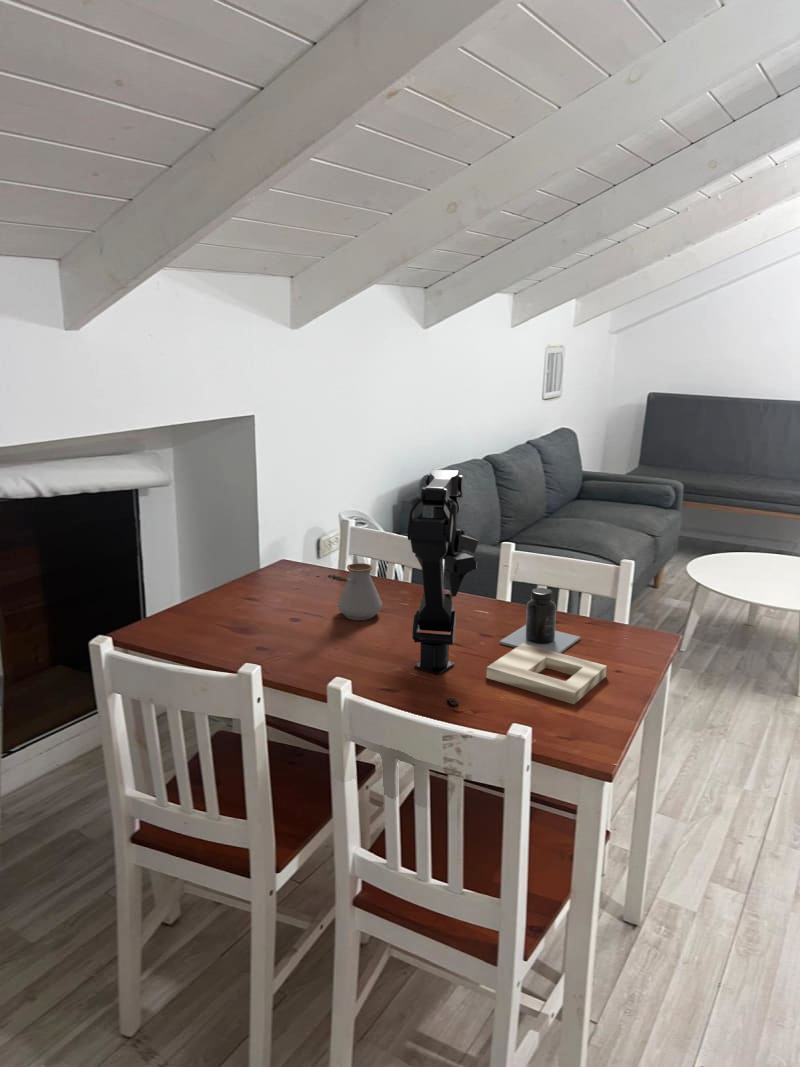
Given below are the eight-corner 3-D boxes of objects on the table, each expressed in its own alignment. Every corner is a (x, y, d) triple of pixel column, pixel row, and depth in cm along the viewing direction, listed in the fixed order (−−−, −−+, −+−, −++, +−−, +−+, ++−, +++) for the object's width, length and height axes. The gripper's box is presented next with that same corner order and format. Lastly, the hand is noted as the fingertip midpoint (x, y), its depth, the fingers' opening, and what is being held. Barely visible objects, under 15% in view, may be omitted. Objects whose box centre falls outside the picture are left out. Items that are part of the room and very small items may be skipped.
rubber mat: (554, 658, 181) (554, 655, 181) (499, 643, 189) (499, 641, 189) (580, 639, 192) (580, 636, 192) (527, 625, 200) (527, 623, 200)
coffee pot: (351, 604, 214) (351, 550, 210) (390, 611, 209) (390, 555, 205) (307, 631, 195) (306, 572, 192) (349, 639, 191) (348, 579, 187)
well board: (574, 704, 160) (574, 692, 159) (486, 677, 171) (486, 666, 170) (605, 676, 172) (606, 665, 171) (522, 653, 183) (522, 643, 183)
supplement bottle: (551, 633, 194) (554, 586, 190) (557, 644, 187) (560, 595, 184) (522, 633, 193) (525, 586, 190) (527, 644, 187) (530, 595, 184)
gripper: (498, 529, 178) (495, 596, 182) (451, 512, 193) (449, 574, 197) (455, 536, 172) (453, 605, 176) (411, 517, 188) (410, 581, 192)
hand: (442, 590), depth 186 cm, fingers open, 9 cm apart
